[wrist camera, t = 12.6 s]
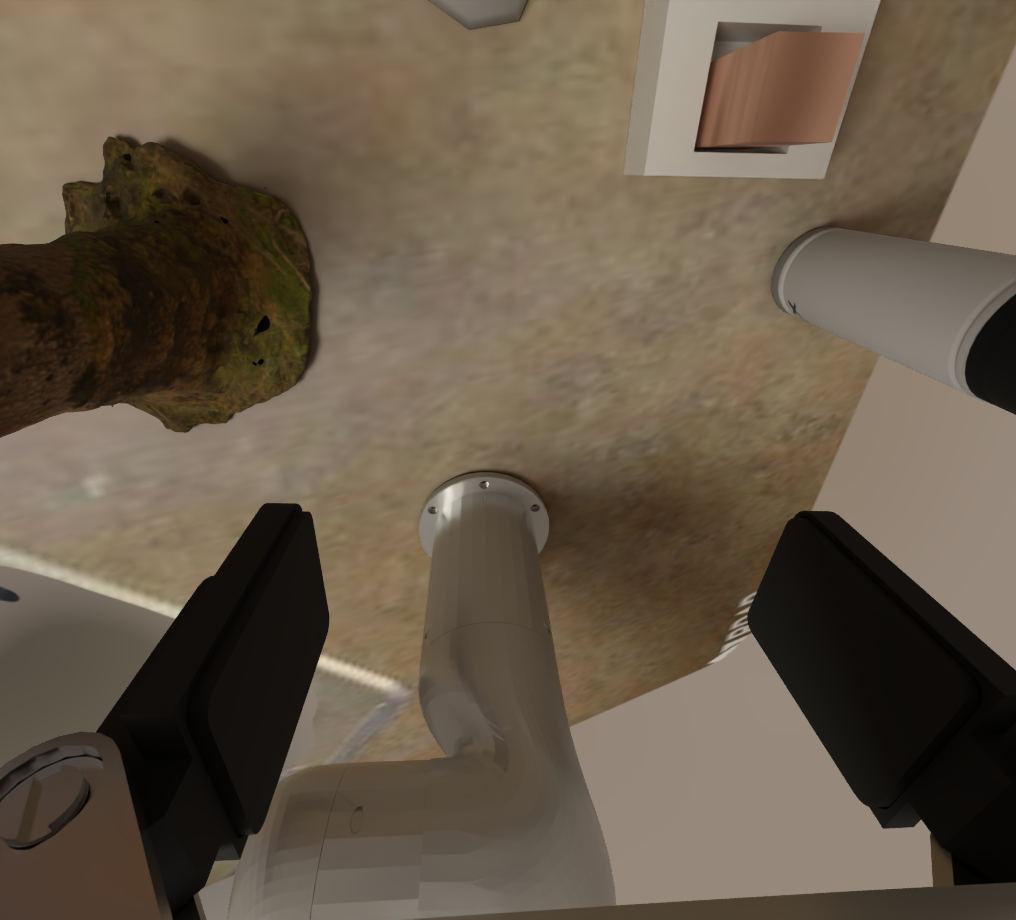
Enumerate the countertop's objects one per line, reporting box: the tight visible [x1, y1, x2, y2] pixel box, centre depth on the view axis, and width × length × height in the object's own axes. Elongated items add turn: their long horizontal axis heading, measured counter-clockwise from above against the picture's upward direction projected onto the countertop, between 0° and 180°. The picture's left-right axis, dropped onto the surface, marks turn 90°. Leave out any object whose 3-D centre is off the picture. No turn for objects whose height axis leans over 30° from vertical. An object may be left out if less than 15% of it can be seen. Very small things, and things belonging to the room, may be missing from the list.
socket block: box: [623, 0, 880, 179], centre depth 26 cm, size 15×11×4 cm
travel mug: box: [771, 227, 1016, 414], centre depth 27 cm, size 6×7×20 cm
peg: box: [694, 31, 865, 150], centre depth 26 cm, size 4×4×9 cm
